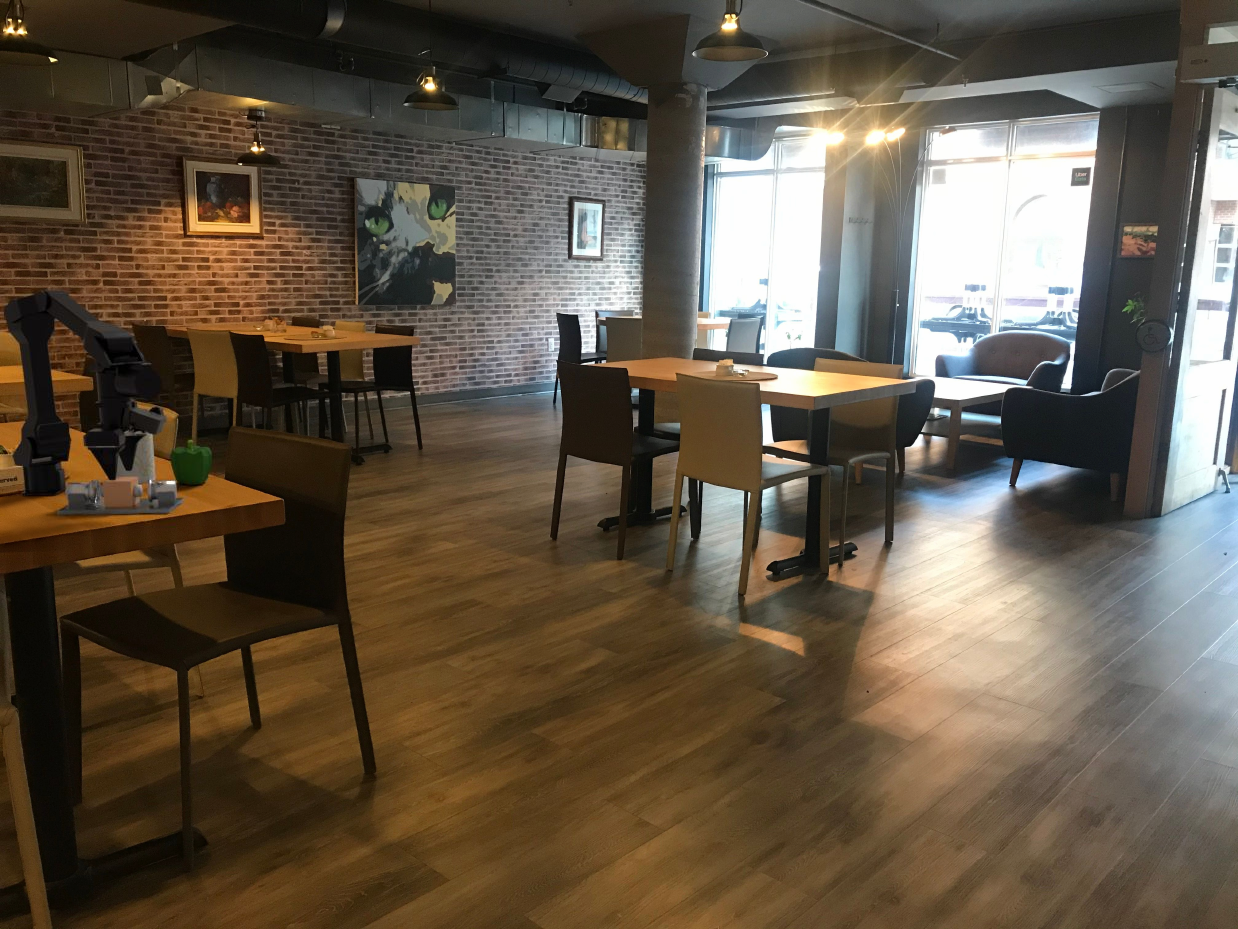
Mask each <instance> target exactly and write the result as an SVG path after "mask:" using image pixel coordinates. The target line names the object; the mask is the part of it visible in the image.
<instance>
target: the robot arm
mask: <svg viewBox="0 0 1238 929" xmlns="http://www.w3.org/2000/svg"><path fill="white" fill-rule="evenodd" d="M4 306H5V307H4V308H3V317H4V320H5V321H6V327H7V330H8V332H9V334H10V335H11V337H13V339H15V341H16V342H17V343H18V345H19V350H20V357H21V358H20V359H21V366H22V375H23V380H24V381H23V382H24V383H23V384H24V389H25V397H26V398H25V399H26V407H27V415H28V416H27V417H26V419H25V421H24V423H23V425H22V427H21V430H20V434H21V438H20V439H21V440H20V442H19V444H18V445H17V447H16V449H15V450H14V452H13V453H12V460H13V462H14V465H15V466H17V467H22V472H23V473H22V474H23V483H24V491H23V492H21V495H22V496H55V495H58V494H60V493H61V492H63V491H66V486H67V483H66V475H65V474H66V472H65V468H62V467H63V466H62V463H64V462H68V461H69V458H70V451H71V444H72V437H71V433H70V424H69V423H68V421H63V420H62V419H61V417H60V416H59V415H58V414H57V408H56V407H57V406H56V401H55V400H56V399H55V391H54V383H53V375H52V367H51V366H52V365H51V360H50V350H49V341H50V340H51V338H52V336H53V334H54V332H55V330H56V320H57V321H58V322H60V323H61V324H62V325H64V326H65V327H66V329H69V331H71V332H72V333H73V334H75V335H77V337H78V338H80V339H81V340H82V348H83V350H84V351H86V353H87V354H88V355H89V356H90V357H91V358H92V359H93V360H94V361H95V362H94V363H93V364H91V366H90V367H89V371H90V372H96V374H95V375H96V383H97V384H96V385H97V399H98V401H96V402H94V407H95V408H96V409H98V410H99V423H96V428H93V429H91V430H88V431H87V432H86V433H85V434H84V435H83V436H82V437H83V438H82V440H83V446H84V447H85V448H86V447H87V450H88V451H90V452H91V454H92V456H93V457H94V459H95V460H96V461H97V463H98V464H99V466H100V467H101V469H102V471H103V472H104V474H105V476H106V477H107V479H109V480H116V476H117V466H118V454H119V456H120V459H121V461H122V464H123V466H124V468H125V470H126V471H131V470H132V468H133V464H134V459H135V454H136V450H137V446H138V443H139V442H140V441H141V440H142V439H143V438H144V437H145V436H146V435H147V434H140V433H139V431H142V433H149V434H152V435H153V436H155V435H158V434H159V433H162V431H163V428H164V426H165V425H164V424H165V423H167V415H165V413H164V408H163V407H160V406H157V405H155V406H152V407H151V408H150V409H149V410H148V409H147V408H145V409H144V408H141V407H138V401H136V399H138V400H139V399H141V400H148V401H149V400H154V399H156V398H157V397H158V396H159V395H160V394H161V392H162V389H163V380H162V378H161V376H160V375H159V373H158V372H157V371H155V370H153V368H152V363H151V362H147V361H146V359H145V356H144V355H143V353H142V352H141V350H140V349H139V346H138V345H137V343H136V342H135V339H134V337H133V336H132V334H131V333H130V331H129V330H127V329H125V328H122V327H120V326H118V325H115V324H111V323H107V322H104V321H102V320H100V319H99V318H98V317H97V316H95V314H93V313H91V312H90V311H89V310H87V309H86V308H84V307H83V306H82V305H81V304H80V303H78V302H77V301H76V300H75V299H73V298H72V297H71V295H70V294H69V293H68V292H67V291H64V290H62V289H44V290H43V289H42V290H40V291H37V292H35V293H34V294H32V295H28V296H24V297H20V298H15V299H10V300H9V302H8V303H7V304H6V305H4Z"/></svg>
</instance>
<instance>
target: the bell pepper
mask: <svg viewBox="0 0 1238 929" xmlns="http://www.w3.org/2000/svg"><path fill="white" fill-rule="evenodd" d="M193 444H194V441H193V439H188V440H187V447H184V446H177V447H176V448H174V449H172V450H171V452H170V458H169V459H170V466H171V470H172V472H173V475H174V478H175V480H176V483H178V484H180V485H188V486H196V485H202V484H204V483H205V482H207V480H208V478H209V477H210V473H211V468H212V463H213V462H212V451H211V449H210V447H208V446H199V445H193ZM208 475H209V476H208Z"/></svg>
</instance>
